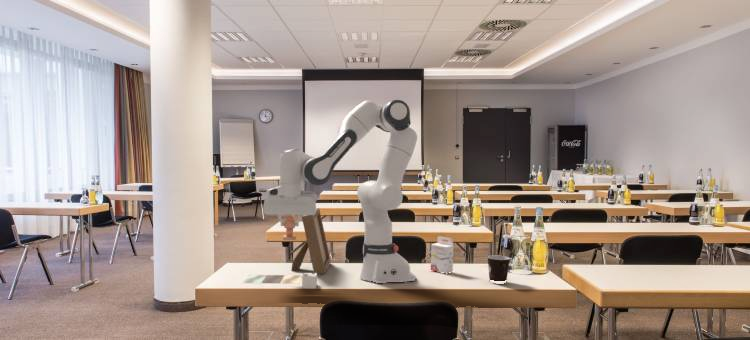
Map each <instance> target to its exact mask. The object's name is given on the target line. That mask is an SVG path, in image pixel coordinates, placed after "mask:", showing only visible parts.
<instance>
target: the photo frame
mask: <svg viewBox="0 0 750 340" xmlns="http://www.w3.org/2000/svg"><path fill="white" fill-rule="evenodd" d="M301 219H302V225H303V229H304V233H305V234H304V235H305V239H306V240H305V242H304V243H303V245H302V246H301V248H300V250H298V252H297V254H296V255H295V257H294V258H293V260H292V262H291V263H292V264H291V272H294V271H297V270H300V269H301V266H302V264H303V261H304V258H305V257H306V254H307V251H309V255H310V256H309V257H310V260H311V265H312V270H313V273H317V275H324V274H326V272H327V271H328V268H329V267H330V264H331V263H332V261H331V257H330V251H329V247H328V246H329V245H328V242H327V239H326V234H325V233H326V232H325V230H324V229H325V228H324V224H323V223H324V222H323V219H322V215H321V210H320V208H316V213H315V214H314V215H302V217H301Z"/></svg>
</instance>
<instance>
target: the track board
mask: <svg viewBox="0 0 750 340" xmlns="http://www.w3.org/2000/svg"><path fill="white" fill-rule="evenodd" d="M302 276H303V274H301V275H300V274H299V275H298V274H297V275H294V274H291V275H289V274H285V275H284V274H282V275H281V274H248V275H247V276H246V277H245V279H244V280H243V281H242V284H300V283H301V281H302Z"/></svg>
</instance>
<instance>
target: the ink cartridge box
mask: <svg viewBox="0 0 750 340" xmlns="http://www.w3.org/2000/svg"><path fill="white" fill-rule="evenodd" d="M436 240H437V242H436V243H431V246H430V247H431V249H430V250H431V251H430V253H431V254H430V271H431V270H433V271H432V272H434V271H438V272H444V273H449V272H452V271H453V272H454V239H453V238H452V237H451V238H450V237H446V236H440V235H438V236H437V239H436ZM445 240H446V241H445ZM438 272H437V273H438ZM453 272H452V273H453ZM449 274H450V273H449Z"/></svg>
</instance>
